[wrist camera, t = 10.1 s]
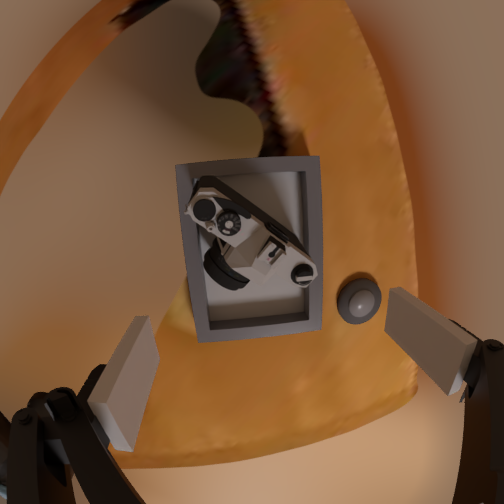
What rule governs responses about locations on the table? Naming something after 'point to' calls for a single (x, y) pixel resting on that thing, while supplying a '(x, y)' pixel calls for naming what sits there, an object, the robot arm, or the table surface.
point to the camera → (246, 239)
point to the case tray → (275, 289)
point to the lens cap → (359, 301)
